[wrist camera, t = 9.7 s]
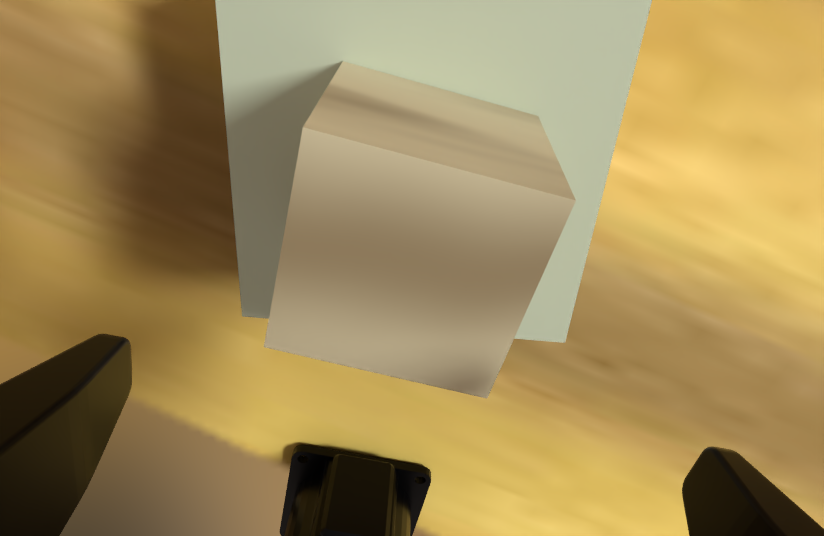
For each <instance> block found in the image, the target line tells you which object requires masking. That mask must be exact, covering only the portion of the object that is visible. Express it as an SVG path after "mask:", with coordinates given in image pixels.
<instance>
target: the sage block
mask: <svg viewBox="0 0 824 536" xmlns="http://www.w3.org/2000/svg"><path fill="white" fill-rule="evenodd" d="M215 2H216V14H217V26H218V38H219V49H220V61H221V73H222V85H223V96H224V108H225V120H226V132H227V143H228V155H229V167H230V179H231V190H232V202H233V214H234V225H235V237H236V249H237V261H238V272H239V284H240V296H241V308H242V316H244V317H257V318H269V315H270V310H271V304H272V299H273V293H274V287H275V282H276V276H277V270H278V265H279V259H280V253H281V248H282V242H283V237H284V231H285V225H286V220H287V214H288V208H289V203H290V197H291V191H292V186H293V180H294V175H295V169H296V163H297V158H298V152H299V146H300V141H301V135H302V129H303V126H304V125H305V123H306V121H307V120H308V118H309V116H310V115H311V113H312V111H313V110H314V108H315V106H316V105H317V103H318V101H319V100H320V98H321V97H322V95H323V93H324V92H325V90H326V88H327V87H328V85H329V83H330V82H331V80H332V78H333V77H334V75H335V73H336V72H337V70H338V68H339V67H340V65H341V64H342V62H343V61H344V62H348V63H351V64H355V65H358V66H362V67H365V68H369V69H373V70H376V71H380V72H383V73H387V74H390V75H394V76H397V77H401V78H405V79H408V80H412V81H415V82H419V83H422V84H426V85H429V86H433V87H437V88H440V89H444V90H447V91H451V92H454V93H458V94H461V95H465V96H469V97H472V98H476V99H479V100H483V101H486V102H490V103H493V104H497V105H501V106H504V107H508V108H511V109H515V110H518V111H522V112H525V113H529V114H533V115H536V116H538V117H539V119H540V121H541V123H542V126H543V128H544V130H545V132H546V135H547V137H548V139H549V141H550V144H551V146H552V148H553V150H554V153H555V155H556V157H557V159H558V161H559V164H560V166H561V168H562V170H563V173H564V175H565V177H566V179H567V182H568V184H569V186H570V188H571V190H572V193H573V195H574V197H575V199H576V202H575V204H574V206H573V208H572V211H571V213H570V215H569V217H568V219H567V222H566V224H565V226H564V228H563V231H562V233H561V235H560V237H559V239H558V242H557V244H556V246H555V248H554V251H553V253H552V255H551V257H550V259H549V262H548V264H547V266H546V268H545V271H544V273H543V275H542V277H541V280H540V282H539V284H538V286H537V288H536V291H535V293H534V295H533V297H532V300H531V302H530V304H529V306H528V308H527V311H526V313H525V315H524V317H523V320H522V322H521V324H520V326H519V329H518V331H517V333H516V335H515V337H514V338H515V339H527V340H539V341H551V342H564V343H565V340H566V337H567V333H568V329H569V325H570V321H571V317H572V313H573V309H574V305H575V301H576V297H577V293H578V289H579V285H580V281H581V278H582V274H583V270H584V266H585V262H586V258H587V254H588V250H589V246H590V242H591V238H592V234H593V230H594V226H595V222H596V218H597V215H598V211H599V207H600V203H601V199H602V195H603V191H604V187H605V183H606V179H607V175H608V171H609V167H610V163H611V159H612V156H613V152H614V148H615V144H616V140H617V136H618V132H619V128H620V124H621V120H622V116H623V112H624V108H625V104H626V100H627V97H628V93H629V89H630V85H631V81H632V77H633V73H634V69H635V65H636V61H637V57H638V53H639V49H640V45H641V41H642V38H643V34H644V30H645V26H646V22H647V18H648V14H649V10H650V6H651V2H652V0H215Z"/></svg>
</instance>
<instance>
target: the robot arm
mask: <svg viewBox="0 0 824 536" xmlns="http://www.w3.org/2000/svg"><path fill="white" fill-rule="evenodd" d="M131 385H132V363H131V345H130V342H129V340H128V339H126V338H124V337H119V336H113V335H108V334H98V335H96V336H94V337H92V338H90V339H88V340H86V341H84V342H82V343H80V344H78V345H76V346H74V347H72V348H70V349H68V350H66V351H64V352H62V353H60V354H58V355H56V356H54V357H53V358H51V359H49V360H47V361H45V362H43V363H41V364H39V365H37V366H35V367H33V368H31V369H30V370H27V371H25V372H23V373H21V374H19V375H17V376H15V377H14V378H12V379H10V380H8V381H6V382H4V383H2V384H0V536H59V535H60V534H61V532H62V530H63V529H64V527H65V525H66V523H67V522H68V520H69V518H70V517H71V515H72V513H73V512H74V510H75V508H76V507H77V505H78V503H79V501H80V499H81V498H82V496H83V494H84V492H85V490H86V489H87V487H88V484H89V482H90V480H91V478H92V476H93V474H94V472H95V470H96V467H97V465H98V463H99V461H100V459H101V456H102V454H103V452H104V450H105V447H106V445H107V443H108V441H109V438H110V436H111V434H112V432H113V429H114V427H115V424H116V423H117V420H118V418H119V416H120V414H121V411H122V409H123V407H124V405H125V402H126V400H127V398H128V396H129V393H130V390H131ZM302 455H304V456H302ZM430 483H431V472H430V470H429V469H428V468H427V467H424V466H419V465H414V464H408V463H402V462H397V461H391V460H386V459H380V458H375V457H369V456H364V455H358V454H353V453H347V452H341V451H336V450H330V449H325V448H319V447H314V446H308V445H299V446H297V447H296V448H295V449H294V452H293V455H292V460H291V466H290V472H289V478H288V484H287V490H286V496H285V503H284V508H283V515H282V521H281V527H280V534H281V536H412V535H413V532H414V529H415V526H416V523H417V520H418V517H419V514H420V511H421V509H422V506H423V503H424V500H425V497H426V494H427V491H428V488H429V486H430ZM682 495H683V501H684V507H685V513H686V519H687V524H688V530H689V536H824V529H823V528H822V527H821V526H820V525H819V524H818V523H816V522H815V521H814V520H813V519H812V518H811V517H810V516H809V515H807V514H806V513H805V512H804V511H803V510H802V509H801V508H800V507H798V506H797V505H796V504H795V503H794V502H793V501H792V500H790V499H789V498H788V497H787V496H786V495H785V494H784V493H783V492H781V491H780V490H779V489H778V488H777V487H776V486H775V485H774V484H772V483H771V482H770V481H769V480H768V479H767V478H766V477H764V476H763V475H762V474H761V473H760V472H759V471H758V470H757V469H755V468H754V467H753V466H752V465H751V464H750V463H749V462H748V461H746V460H745V459H744V458H743V457H742V456H741V455H740V454H738V453H737V452H735V451H733V450H729V449H724V448H719V447H708V448H706V449H705V450H704V451H703V452H702V453H701V455H700V456H699V458H698V459H697V461H696V462H695V464H694V465H693V467H692V469H691V470H690V472H689V473H688V475H687V476H686V478H685V480H684V483H683V488H682Z"/></svg>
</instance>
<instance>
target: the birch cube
mask: <svg viewBox="0 0 824 536" xmlns="http://www.w3.org/2000/svg"><path fill="white" fill-rule="evenodd" d="M575 202H576V199H575V197H574V195H573V193H572V190H571V188H570V186H569V184H568V182H567V179H566V177H565V175H564V173H563V170H562V168H561V166H560V164H559V161H558V159H557V157H556V155H555V153H554V150H553V148H552V146H551V144H550V141H549V139H548V137H547V135H546V132H545V130H544V128H543V126H542V123H541V121H540V119H539V117H538V116H536V115H533V114H529V113H525V112H522V111H518V110H515V109H511V108H508V107H504V106H501V105H497V104H493V103H490V102H486V101H483V100H479V99H476V98H472V97H469V96H465V95H461V94H458V93H454V92H451V91H447V90H444V89H440V88H437V87H433V86H429V85H426V84H422V83H419V82H415V81H412V80H408V79H405V78H401V77H397V76H394V75H390V74H387V73H383V72H380V71H376V70H373V69H369V68H365V67H362V66H358V65H355V64H351V63H348V62H344V61H343V62H342V64H341V65H340V67H339V68H338V70H337V72H336V73H335V75H334V77H333V78H332V80H331V82H330V83H329V85H328V87H327V88H326V90H325V92H324V93H323V95H322V97H321V98H320V100H319V101H318V103H317V105H316V106H315V108H314V110H313V111H312V113H311V115H310V116H309V118H308V120H307V121H306V123H305V125H304V126H303V129H302V135H301V141H300V146H299V152H298V158H297V163H296V169H295V175H294V180H293V186H292V191H291V197H290V203H289V208H288V214H287V220H286V225H285V231H284V237H283V242H282V248H281V253H280V259H279V265H278V270H277V276H276V282H275V287H274V293H273V299H272V304H271V310H270V315H269V321H268V327H267V332H266V338H265V344H264V347H266V348H270V349H275V350H279V351H283V352H288V353H292V354H296V355H301V356H305V357H309V358H314V359H318V360H322V361H327V362H331V363H335V364H340V365H344V366H348V367H353V368H357V369H361V370H366V371H370V372H374V373H379V374H383V375H387V376H392V377H396V378H400V379H405V380H409V381H413V382H418V383H422V384H426V385H431V386H435V387H440V388H444V389H448V390H453V391H457V392H461V393H466V394H470V395H474V396H479V397H483V398H488V395H489V393H490V391H491V389H492V386H493V384H494V382H495V380H496V377H497V375H498V373H499V371H500V369H501V366H502V364H503V362H504V360H505V357H506V355H507V353H508V351H509V349H510V346H511V344H512V342H513V340H514V337H515V335H516V333H517V331H518V329H519V326H520V324H521V322H522V320H523V317H524V315H525V313H526V311H527V308H528V306H529V304H530V302H531V300H532V297H533V295H534V293H535V291H536V288H537V286H538V284H539V282H540V280H541V277H542V275H543V273H544V271H545V268H546V266H547V264H548V262H549V259H550V257H551V255H552V253H553V251H554V248H555V246H556V244H557V242H558V239H559V237H560V235H561V233H562V231H563V228H564V226H565V224H566V222H567V219H568V217H569V215H570V213H571V211H572V208H573V206H574V204H575Z"/></svg>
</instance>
